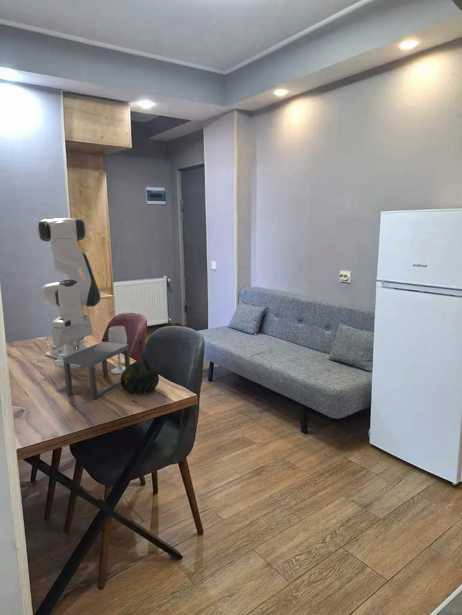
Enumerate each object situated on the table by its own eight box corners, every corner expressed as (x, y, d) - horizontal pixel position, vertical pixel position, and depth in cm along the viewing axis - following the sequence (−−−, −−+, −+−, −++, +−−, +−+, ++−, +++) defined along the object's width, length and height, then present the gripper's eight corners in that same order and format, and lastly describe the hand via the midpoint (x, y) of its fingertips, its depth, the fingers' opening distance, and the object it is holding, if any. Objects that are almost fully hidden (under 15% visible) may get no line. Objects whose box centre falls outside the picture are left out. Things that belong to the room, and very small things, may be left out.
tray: (55, 367, 181) (53, 356, 181) (65, 362, 187) (63, 352, 186) (80, 368, 176) (78, 357, 175) (90, 363, 181) (88, 352, 180)
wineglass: (124, 374, 192) (121, 330, 187) (107, 373, 193) (103, 329, 189) (132, 368, 200) (129, 325, 196) (115, 367, 202) (112, 325, 197)
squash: (113, 376, 175) (122, 356, 165) (146, 369, 184) (156, 350, 174) (124, 406, 168) (134, 387, 158) (157, 397, 177) (169, 379, 168)
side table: (67, 395, 170) (63, 358, 166) (105, 375, 191) (102, 341, 188) (95, 400, 164) (91, 361, 161) (131, 379, 186) (128, 344, 183)
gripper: (83, 313, 187) (85, 342, 190) (47, 323, 168) (51, 356, 171) (94, 314, 185) (97, 344, 188) (59, 325, 166) (63, 358, 169)
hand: (74, 350), depth 179 cm, fingers closed
